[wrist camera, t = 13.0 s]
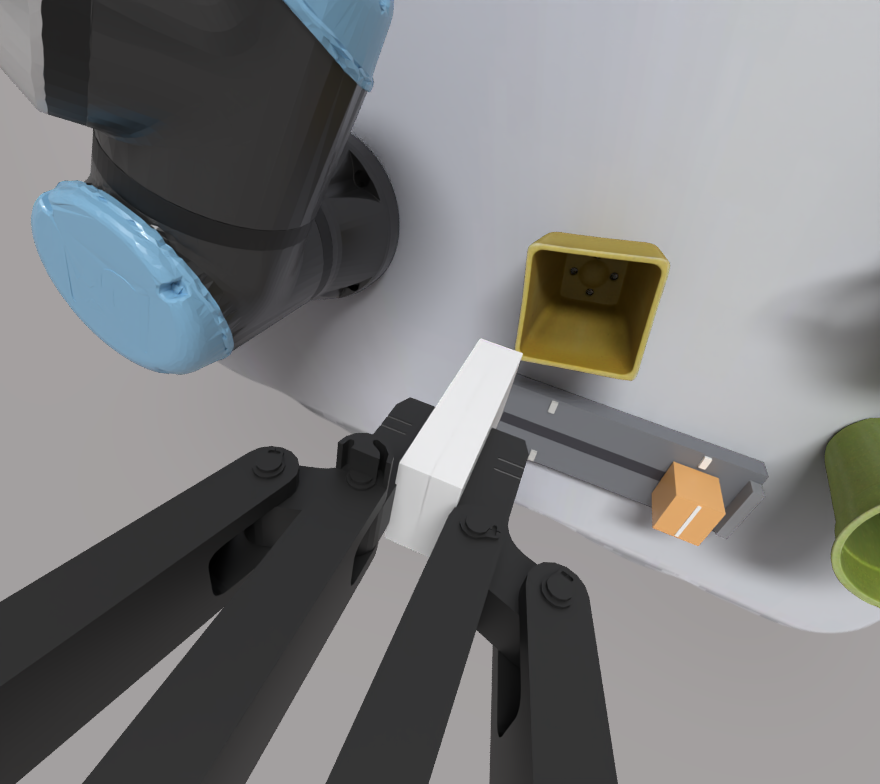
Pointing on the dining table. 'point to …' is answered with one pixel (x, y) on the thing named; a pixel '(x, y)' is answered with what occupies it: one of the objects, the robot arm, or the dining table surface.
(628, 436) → the slide potentiometer
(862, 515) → the plant pot
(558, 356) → the flower pot
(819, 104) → the dining table surface
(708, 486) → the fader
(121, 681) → the robot arm
